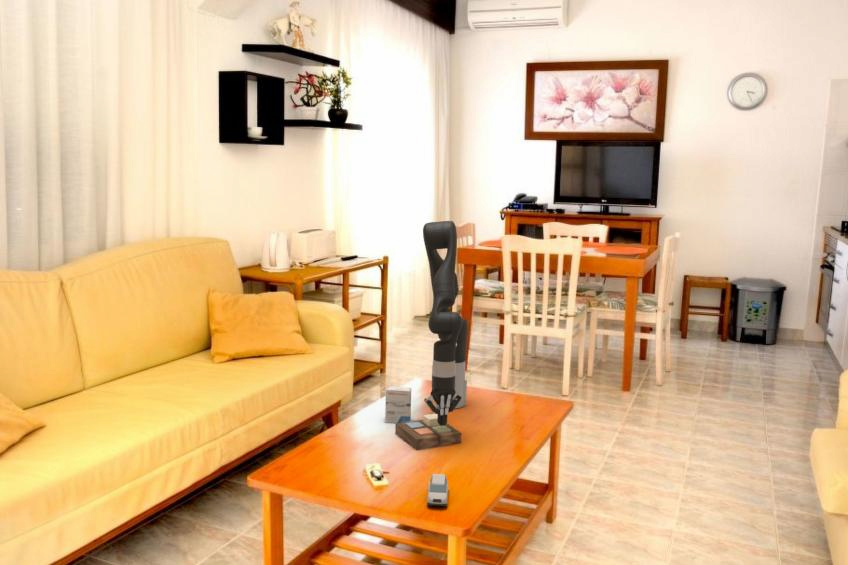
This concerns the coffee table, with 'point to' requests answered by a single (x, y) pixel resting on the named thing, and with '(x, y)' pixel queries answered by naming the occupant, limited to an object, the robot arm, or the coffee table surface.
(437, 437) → the keypad housing
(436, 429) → the sage key
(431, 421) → the cream key
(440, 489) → the toy car
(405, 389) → the ink box
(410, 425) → the slate key
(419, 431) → the terracotta key
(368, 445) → the coffee table surface
